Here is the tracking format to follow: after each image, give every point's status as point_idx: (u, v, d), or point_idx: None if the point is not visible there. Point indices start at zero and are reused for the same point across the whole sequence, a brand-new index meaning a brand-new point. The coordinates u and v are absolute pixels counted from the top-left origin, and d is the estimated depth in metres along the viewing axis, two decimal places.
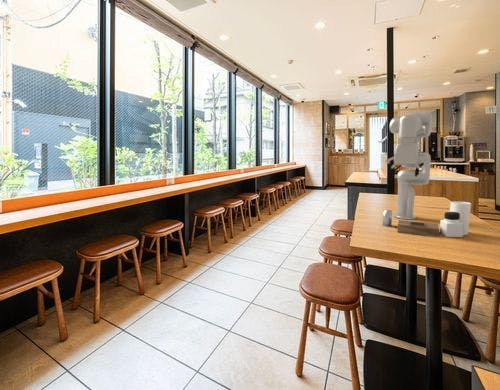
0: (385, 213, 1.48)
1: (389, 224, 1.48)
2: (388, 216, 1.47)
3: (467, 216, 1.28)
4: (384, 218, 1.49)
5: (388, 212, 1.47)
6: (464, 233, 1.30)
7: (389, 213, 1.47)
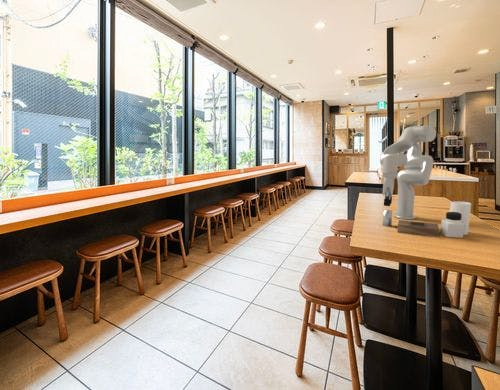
0: (385, 213, 1.48)
1: (389, 224, 1.48)
2: (388, 216, 1.47)
3: (467, 216, 1.28)
4: (384, 218, 1.49)
5: (388, 212, 1.47)
6: (464, 233, 1.30)
7: (389, 213, 1.47)
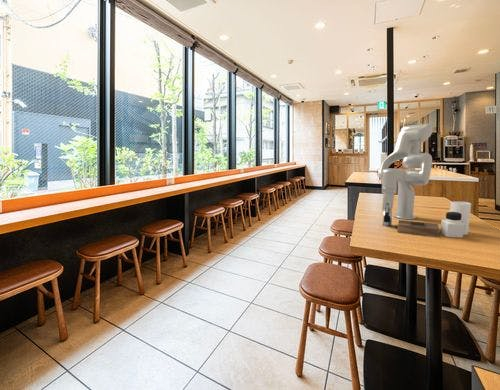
0: None
1: (389, 224, 1.48)
2: None
3: (467, 216, 1.28)
4: None
5: None
6: (464, 233, 1.30)
7: None
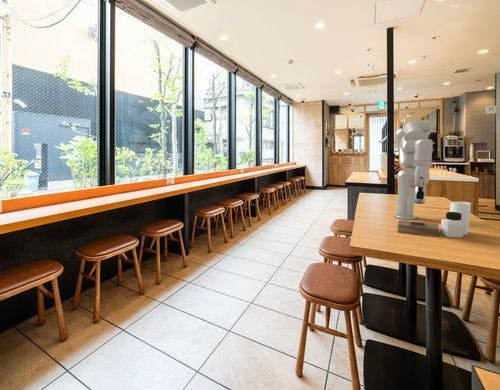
0: None
1: (422, 201, 1.32)
2: None
3: (467, 216, 1.28)
4: None
5: None
6: (464, 233, 1.30)
7: None
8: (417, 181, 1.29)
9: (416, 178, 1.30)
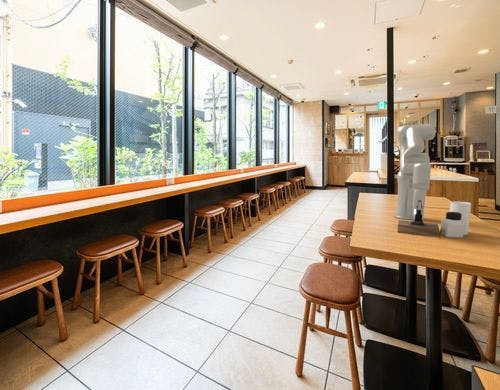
0: None
1: (421, 223, 1.34)
2: None
3: (467, 216, 1.28)
4: None
5: None
6: (464, 233, 1.30)
7: None
8: (415, 204, 1.31)
9: (414, 201, 1.31)
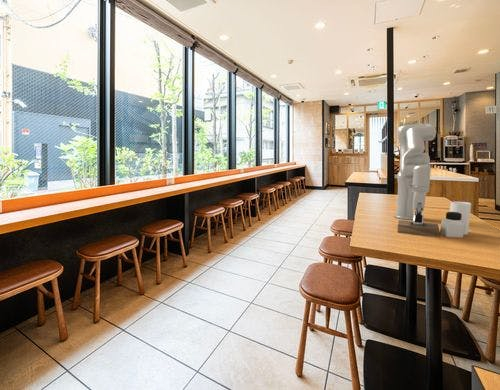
0: None
1: None
2: None
3: (467, 216, 1.28)
4: (414, 223, 1.36)
5: None
6: (464, 233, 1.30)
7: None
8: (415, 206, 1.31)
9: (414, 203, 1.32)
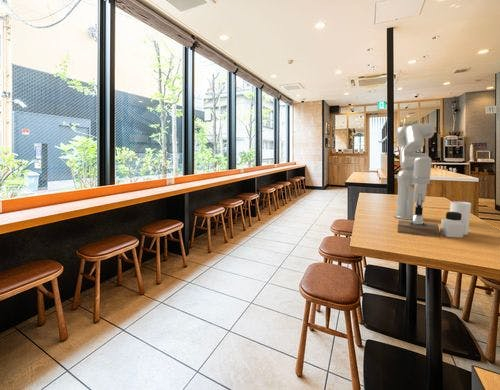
0: (415, 218, 1.35)
1: None
2: (419, 221, 1.34)
3: (467, 216, 1.28)
4: (414, 223, 1.36)
5: (419, 217, 1.34)
6: (464, 233, 1.30)
7: (420, 218, 1.34)
8: (416, 198, 1.31)
9: (415, 195, 1.31)
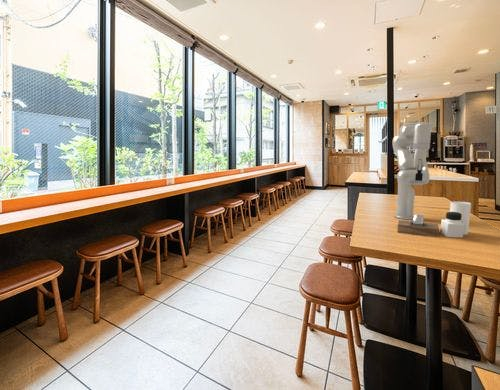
0: (416, 218, 1.35)
1: None
2: (419, 221, 1.34)
3: (467, 216, 1.28)
4: (414, 223, 1.36)
5: (419, 216, 1.34)
6: (464, 233, 1.30)
7: (420, 218, 1.34)
8: (416, 163, 1.35)
9: (415, 160, 1.35)
